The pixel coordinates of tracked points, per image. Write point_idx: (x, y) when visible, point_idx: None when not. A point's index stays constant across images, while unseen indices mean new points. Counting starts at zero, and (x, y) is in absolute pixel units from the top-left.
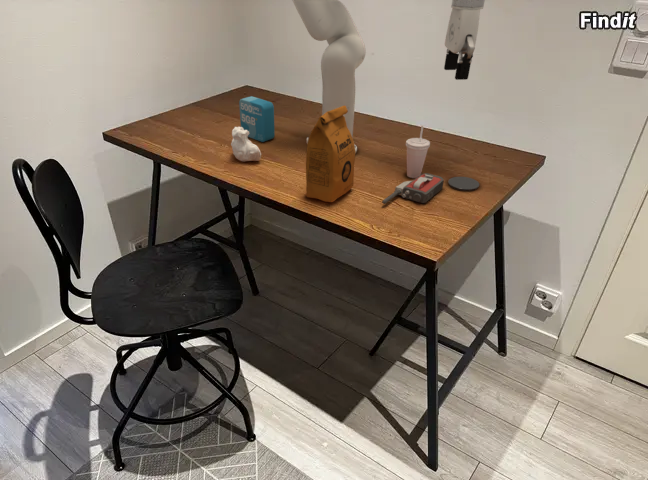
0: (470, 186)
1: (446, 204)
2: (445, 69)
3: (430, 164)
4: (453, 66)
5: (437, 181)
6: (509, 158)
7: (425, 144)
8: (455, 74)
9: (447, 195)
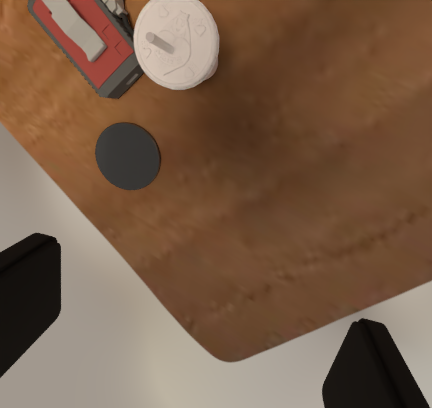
0: (107, 161)
1: (44, 71)
2: (364, 325)
3: (254, 139)
4: (336, 395)
5: (86, 72)
6: (233, 316)
7: (148, 60)
8: (25, 250)
9: (84, 95)
